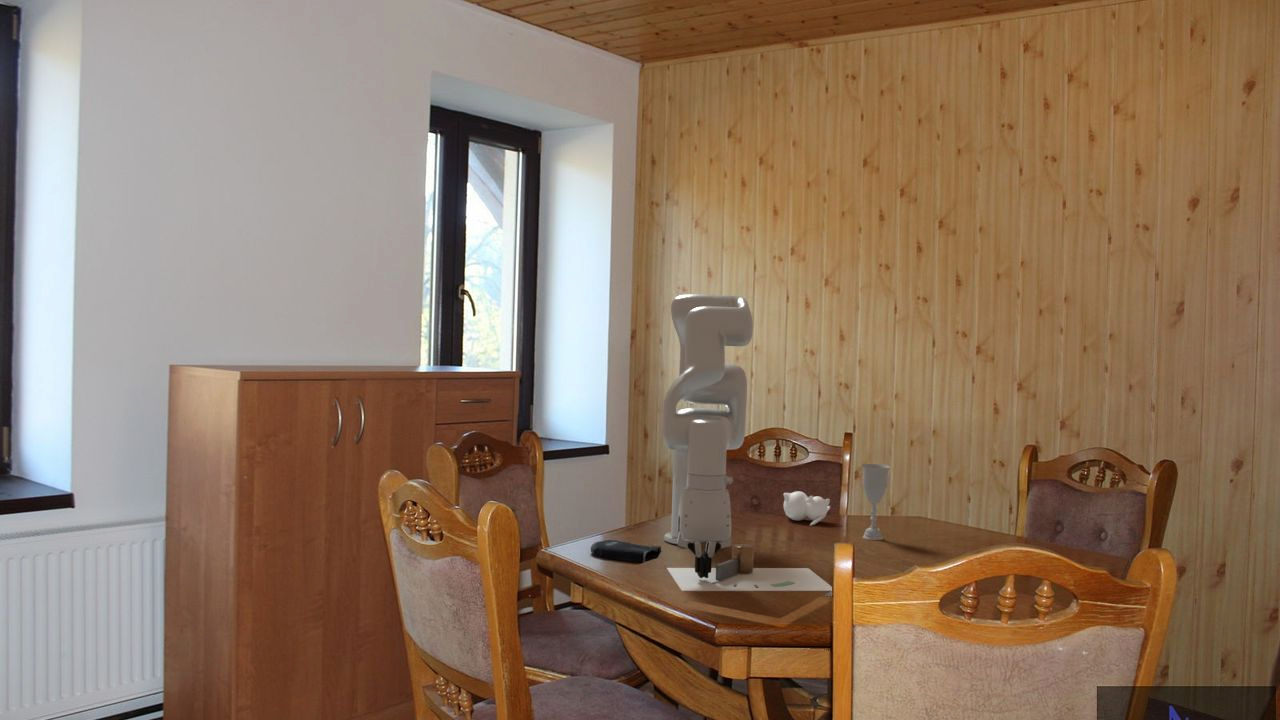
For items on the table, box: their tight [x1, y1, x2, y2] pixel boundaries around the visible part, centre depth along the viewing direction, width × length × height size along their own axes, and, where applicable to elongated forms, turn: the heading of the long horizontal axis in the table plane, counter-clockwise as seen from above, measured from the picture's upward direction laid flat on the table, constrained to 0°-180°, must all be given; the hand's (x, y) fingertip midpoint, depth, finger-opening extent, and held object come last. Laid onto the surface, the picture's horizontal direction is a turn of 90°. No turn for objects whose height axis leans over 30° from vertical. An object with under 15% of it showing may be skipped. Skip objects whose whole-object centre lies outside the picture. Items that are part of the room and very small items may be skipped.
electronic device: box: [590, 539, 662, 563], centre depth 221 cm, size 9×6×15 cm
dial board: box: [666, 567, 833, 598], centre depth 199 cm, size 18×30×1 cm, turn 98°
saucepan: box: [715, 543, 755, 581], centre depth 201 cm, size 13×4×5 cm, turn 148°
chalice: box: [861, 463, 891, 541], centre depth 250 cm, size 7×7×18 cm
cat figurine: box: [783, 490, 831, 527], centre depth 269 cm, size 9×11×12 cm
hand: (702, 576), depth 196 cm, fingers closed
